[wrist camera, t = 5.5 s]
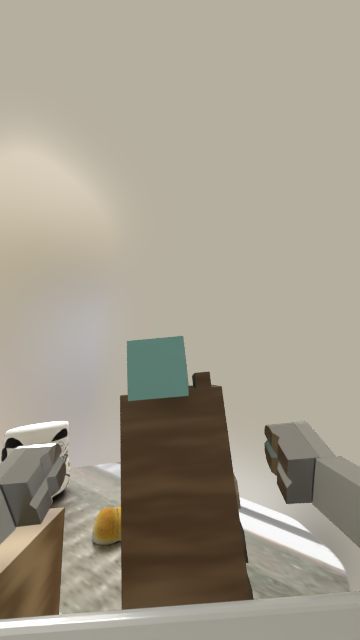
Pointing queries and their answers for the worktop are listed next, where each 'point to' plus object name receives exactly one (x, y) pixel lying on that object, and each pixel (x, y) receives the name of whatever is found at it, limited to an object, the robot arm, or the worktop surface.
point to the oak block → (32, 568)
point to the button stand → (180, 502)
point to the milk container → (40, 441)
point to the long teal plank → (156, 368)
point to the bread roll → (107, 526)
